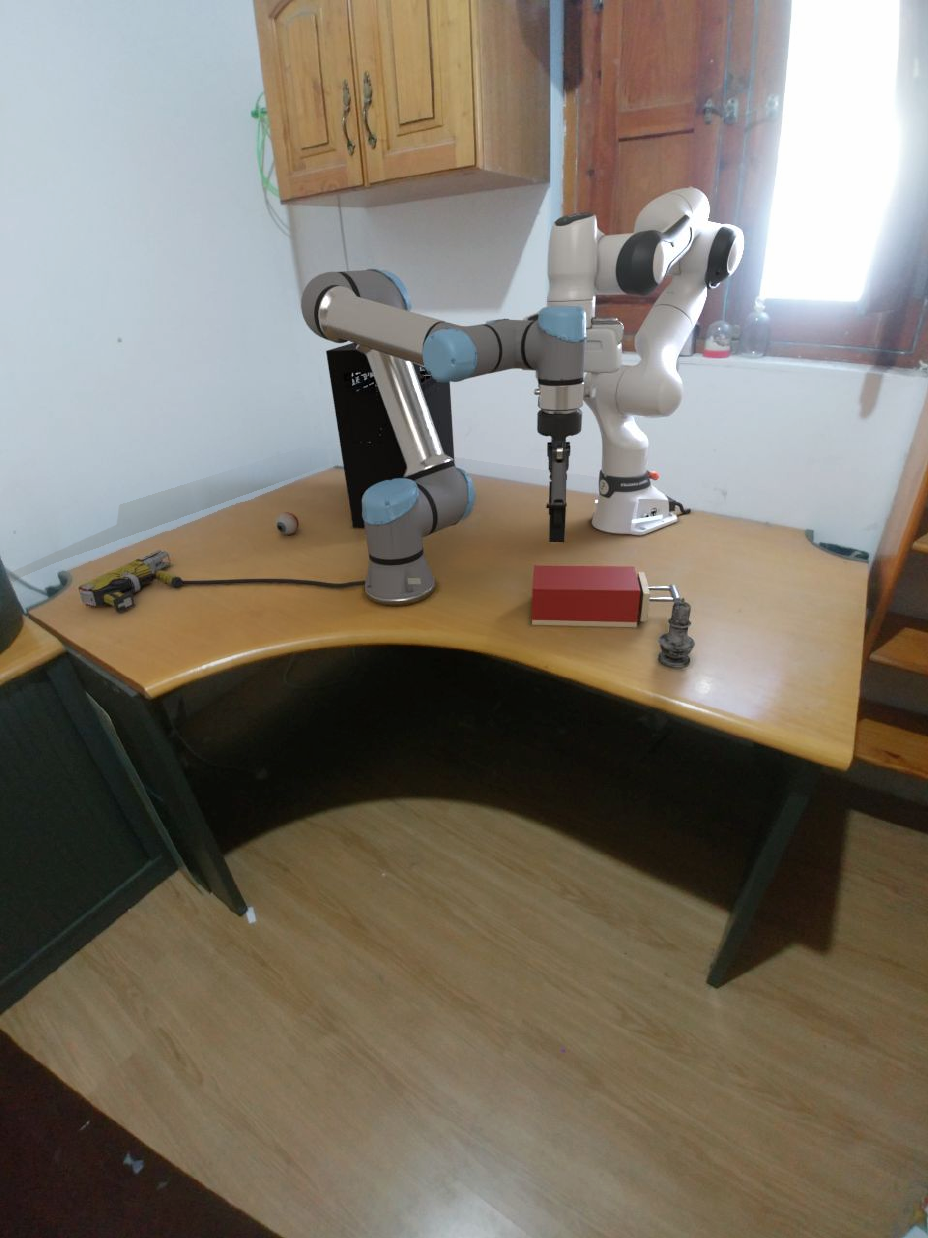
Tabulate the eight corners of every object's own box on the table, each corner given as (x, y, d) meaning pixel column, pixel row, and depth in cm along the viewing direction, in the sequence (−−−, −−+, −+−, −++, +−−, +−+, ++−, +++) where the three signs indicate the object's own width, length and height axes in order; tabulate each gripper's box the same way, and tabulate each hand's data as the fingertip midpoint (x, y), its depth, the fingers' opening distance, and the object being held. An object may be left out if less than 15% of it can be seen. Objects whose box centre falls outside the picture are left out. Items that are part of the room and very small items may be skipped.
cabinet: (630, 600, 123) (634, 566, 119) (636, 627, 114) (640, 590, 110) (533, 599, 126) (534, 565, 122) (532, 624, 117) (532, 588, 113)
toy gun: (206, 558, 145) (156, 547, 149) (127, 600, 125) (71, 586, 129) (209, 576, 148) (160, 565, 152) (132, 620, 128) (77, 606, 132)
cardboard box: (422, 529, 163) (406, 348, 140) (352, 527, 167) (325, 350, 145) (456, 486, 194) (446, 332, 172) (396, 484, 199) (379, 334, 176)
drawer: (672, 599, 121) (676, 572, 118) (680, 622, 113) (684, 594, 110) (548, 596, 124) (549, 570, 121) (547, 619, 117) (548, 591, 114)
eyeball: (273, 537, 164) (268, 516, 161) (287, 528, 169) (282, 508, 166) (291, 539, 161) (286, 518, 158) (305, 530, 166) (301, 510, 163)
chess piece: (694, 669, 101) (704, 607, 95) (657, 667, 102) (665, 605, 96) (690, 650, 106) (699, 590, 100) (655, 648, 107) (662, 588, 101)
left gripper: (538, 395, 113) (536, 504, 123) (536, 426, 91) (534, 554, 102) (579, 394, 112) (574, 504, 123) (586, 425, 90) (579, 554, 101)
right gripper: (630, 315, 109) (624, 395, 116) (529, 316, 119) (529, 390, 126) (618, 318, 105) (612, 401, 111) (514, 319, 114) (514, 395, 121)
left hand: (556, 527), depth 112 cm, fingers open, 13 cm apart
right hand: (567, 395), depth 119 cm, fingers open, 8 cm apart
